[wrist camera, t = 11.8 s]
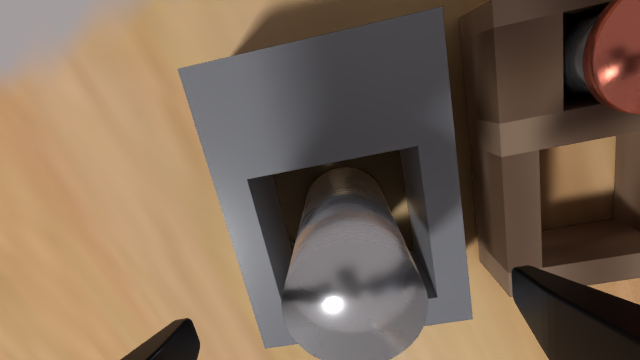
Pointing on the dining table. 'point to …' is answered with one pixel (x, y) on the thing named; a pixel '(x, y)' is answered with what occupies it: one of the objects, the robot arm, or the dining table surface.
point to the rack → (334, 146)
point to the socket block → (540, 145)
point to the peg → (352, 274)
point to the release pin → (605, 56)
